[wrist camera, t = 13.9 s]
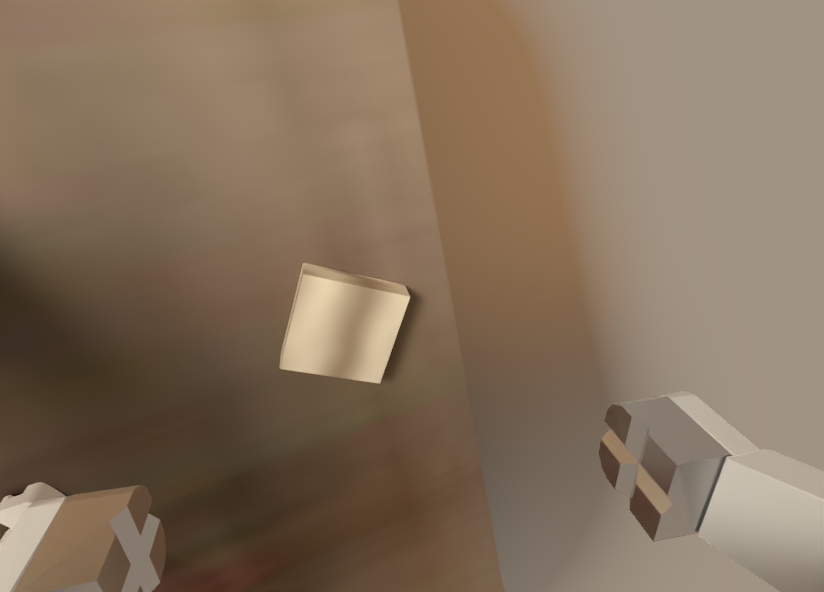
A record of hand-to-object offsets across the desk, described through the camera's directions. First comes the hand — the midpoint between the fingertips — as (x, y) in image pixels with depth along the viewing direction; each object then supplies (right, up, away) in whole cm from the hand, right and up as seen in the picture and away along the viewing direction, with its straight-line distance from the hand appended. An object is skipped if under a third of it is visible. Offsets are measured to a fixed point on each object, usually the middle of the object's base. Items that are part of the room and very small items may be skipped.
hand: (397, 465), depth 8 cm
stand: (-6, +1, +34) cm, 34 cm away
